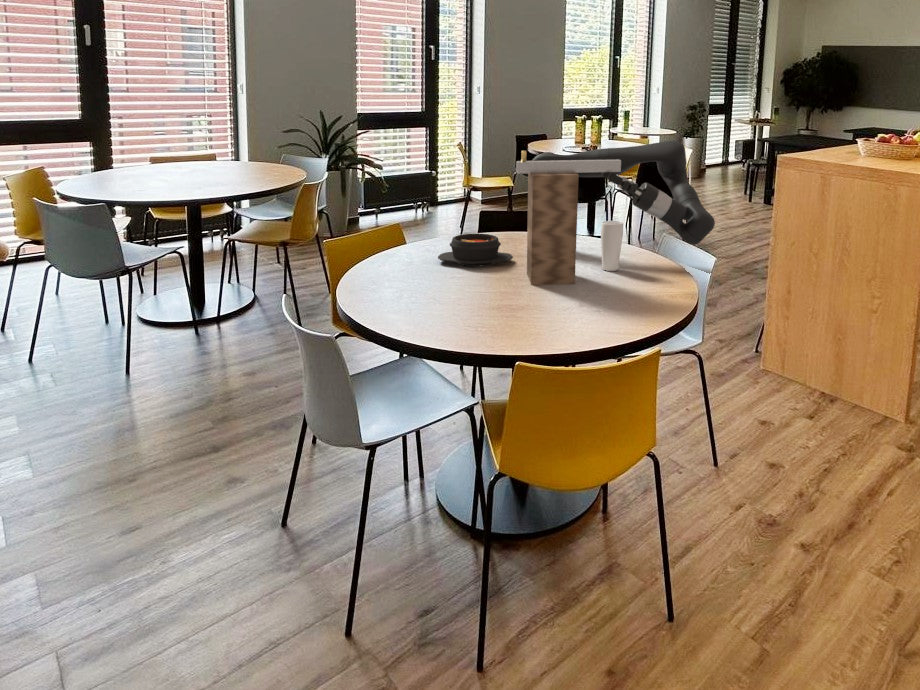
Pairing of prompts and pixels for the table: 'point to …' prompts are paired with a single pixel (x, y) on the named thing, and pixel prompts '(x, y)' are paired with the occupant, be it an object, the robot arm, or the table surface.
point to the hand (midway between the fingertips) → (606, 173)
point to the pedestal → (552, 228)
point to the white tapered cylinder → (611, 244)
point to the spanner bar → (566, 166)
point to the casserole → (475, 250)
